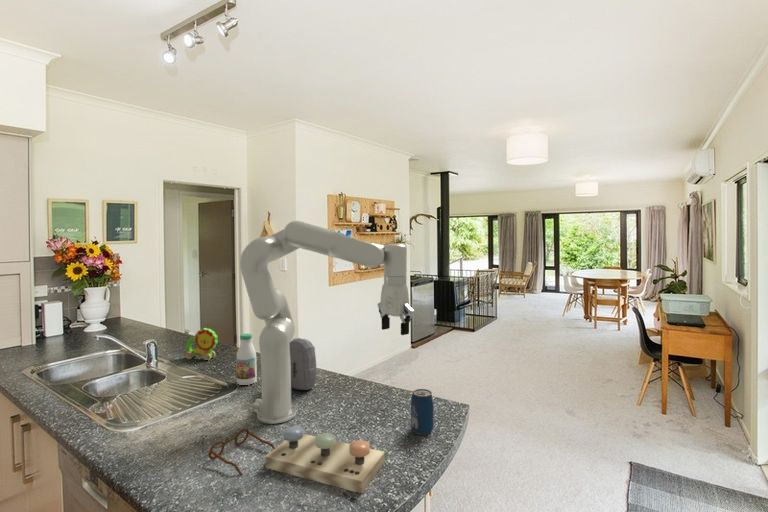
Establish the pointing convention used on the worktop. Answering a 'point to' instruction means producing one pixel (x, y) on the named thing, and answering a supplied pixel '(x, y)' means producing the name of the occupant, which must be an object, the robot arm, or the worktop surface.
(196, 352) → the toy lion
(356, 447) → the terracotta key
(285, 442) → the wooden button board
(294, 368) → the small grey backpack
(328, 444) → the sage key
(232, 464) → the glasses
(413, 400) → the soda can
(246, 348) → the milk bottle
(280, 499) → the worktop surface
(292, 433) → the slate-blue key
